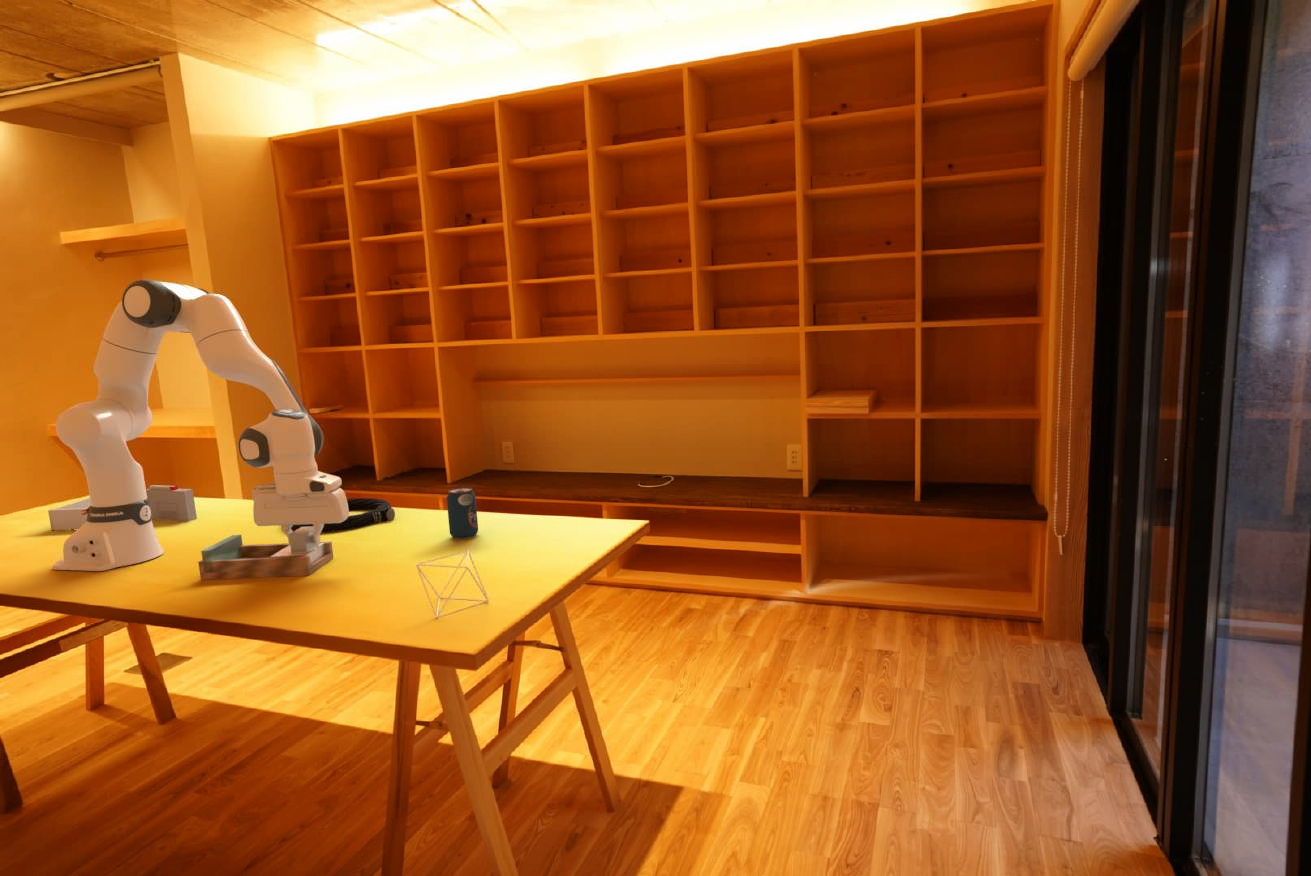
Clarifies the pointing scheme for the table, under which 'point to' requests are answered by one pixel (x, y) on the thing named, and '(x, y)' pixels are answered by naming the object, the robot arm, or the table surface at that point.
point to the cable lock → (360, 515)
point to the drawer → (255, 560)
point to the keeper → (302, 545)
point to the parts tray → (69, 515)
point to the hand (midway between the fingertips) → (304, 543)
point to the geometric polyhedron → (449, 581)
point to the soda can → (462, 513)
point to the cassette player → (171, 503)
